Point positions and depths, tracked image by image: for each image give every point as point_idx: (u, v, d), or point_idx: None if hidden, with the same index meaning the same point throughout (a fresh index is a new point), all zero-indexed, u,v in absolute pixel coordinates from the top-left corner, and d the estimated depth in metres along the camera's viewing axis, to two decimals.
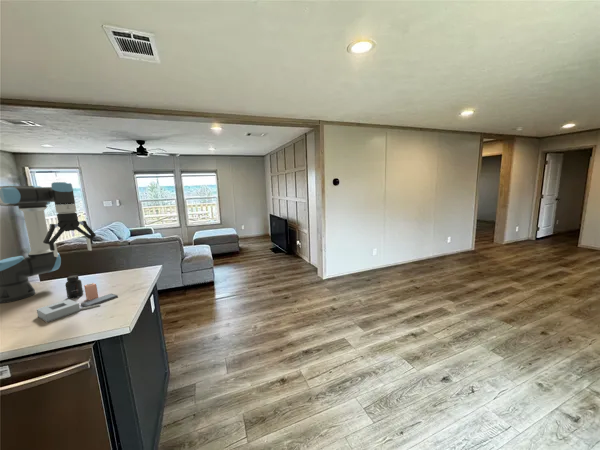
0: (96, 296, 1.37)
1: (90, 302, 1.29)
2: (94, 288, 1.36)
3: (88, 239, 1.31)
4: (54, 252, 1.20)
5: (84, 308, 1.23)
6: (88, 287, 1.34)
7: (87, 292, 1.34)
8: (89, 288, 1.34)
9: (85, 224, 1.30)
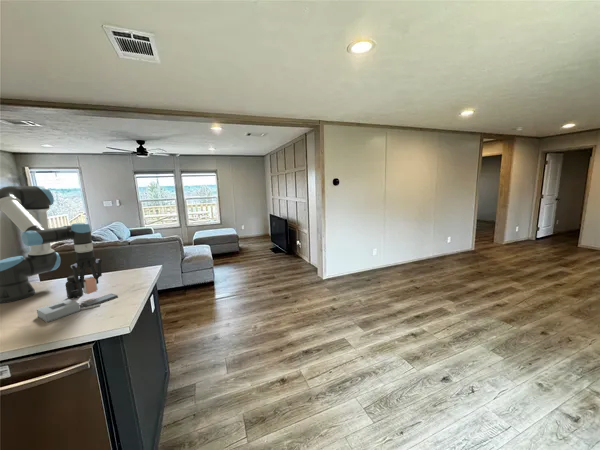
0: (94, 290, 1.37)
1: (90, 302, 1.29)
2: (92, 282, 1.36)
3: None
4: (84, 289, 1.34)
5: (84, 308, 1.23)
6: (86, 281, 1.33)
7: None
8: (87, 282, 1.34)
9: (99, 263, 1.38)
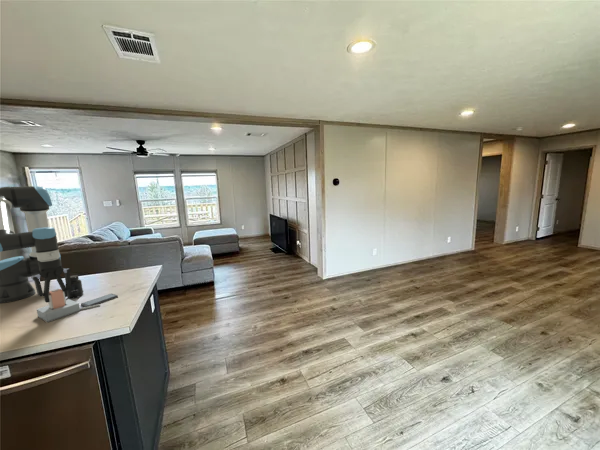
0: (62, 304, 1.19)
1: (90, 302, 1.29)
2: (60, 295, 1.18)
3: None
4: (49, 303, 1.16)
5: (84, 308, 1.23)
6: (52, 294, 1.16)
7: None
8: (53, 295, 1.16)
9: (68, 273, 1.21)
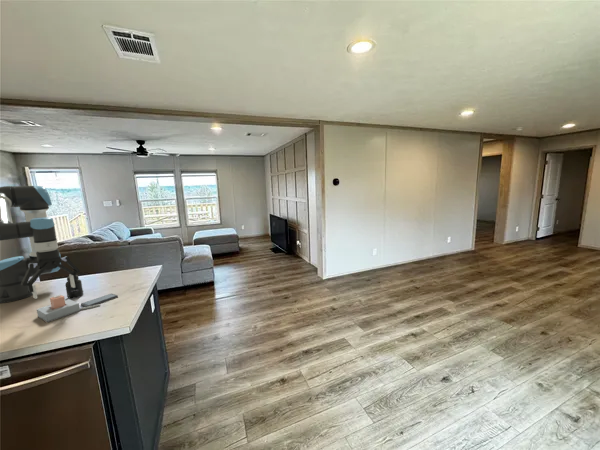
0: None
1: (90, 302, 1.29)
2: (61, 301, 1.19)
3: (71, 276, 1.22)
4: (33, 293, 1.12)
5: (84, 308, 1.23)
6: (54, 300, 1.16)
7: (53, 306, 1.17)
8: (55, 301, 1.17)
9: (68, 260, 1.21)
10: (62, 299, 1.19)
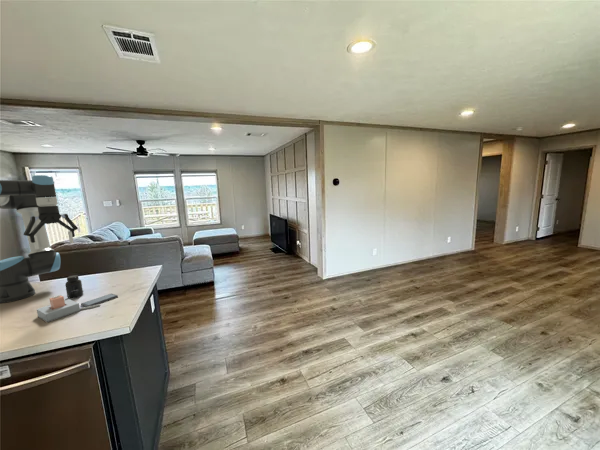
0: None
1: (90, 302, 1.29)
2: (61, 301, 1.19)
3: (70, 232, 1.33)
4: (35, 244, 1.22)
5: (84, 308, 1.23)
6: (53, 300, 1.16)
7: (52, 306, 1.17)
8: (55, 302, 1.17)
9: (67, 217, 1.31)
10: (61, 299, 1.19)
